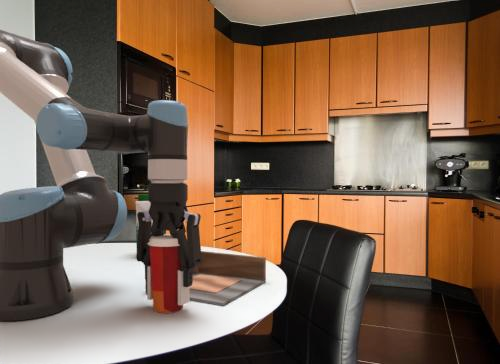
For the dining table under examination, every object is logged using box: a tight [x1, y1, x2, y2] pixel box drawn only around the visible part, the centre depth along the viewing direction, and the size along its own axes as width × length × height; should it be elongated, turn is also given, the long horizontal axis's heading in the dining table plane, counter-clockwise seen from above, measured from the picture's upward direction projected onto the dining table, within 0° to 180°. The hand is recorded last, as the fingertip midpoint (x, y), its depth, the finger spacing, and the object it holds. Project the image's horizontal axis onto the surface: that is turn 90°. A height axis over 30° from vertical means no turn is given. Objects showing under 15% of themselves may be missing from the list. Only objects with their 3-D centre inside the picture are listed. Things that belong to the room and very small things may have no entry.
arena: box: [145, 250, 267, 307], centre depth 92 cm, size 20×20×6 cm
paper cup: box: [147, 233, 184, 314], centre depth 77 cm, size 8×8×14 cm
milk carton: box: [135, 193, 167, 246], centre depth 127 cm, size 9×9×20 cm
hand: (168, 300), depth 77 cm, fingers closed on paper cup, 7 cm apart
